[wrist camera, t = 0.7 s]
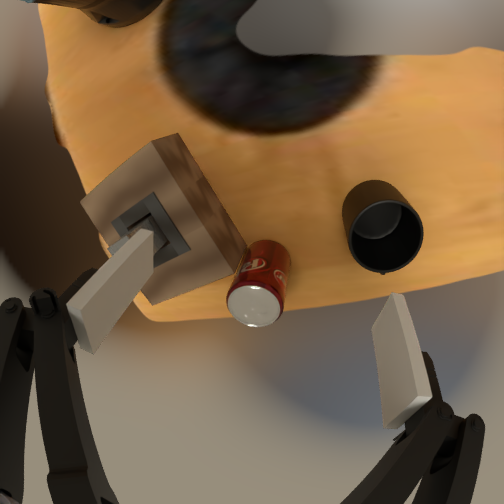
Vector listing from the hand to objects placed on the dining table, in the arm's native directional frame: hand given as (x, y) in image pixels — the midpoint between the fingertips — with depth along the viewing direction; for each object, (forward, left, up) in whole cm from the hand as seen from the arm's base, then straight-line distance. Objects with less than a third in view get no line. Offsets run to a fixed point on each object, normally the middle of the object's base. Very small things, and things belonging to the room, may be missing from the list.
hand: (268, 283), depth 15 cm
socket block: (-3, -20, -27) cm, 34 cm away
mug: (+11, +7, -28) cm, 31 cm away
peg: (-3, -20, -21) cm, 29 cm away
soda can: (+11, -10, -28) cm, 31 cm away
